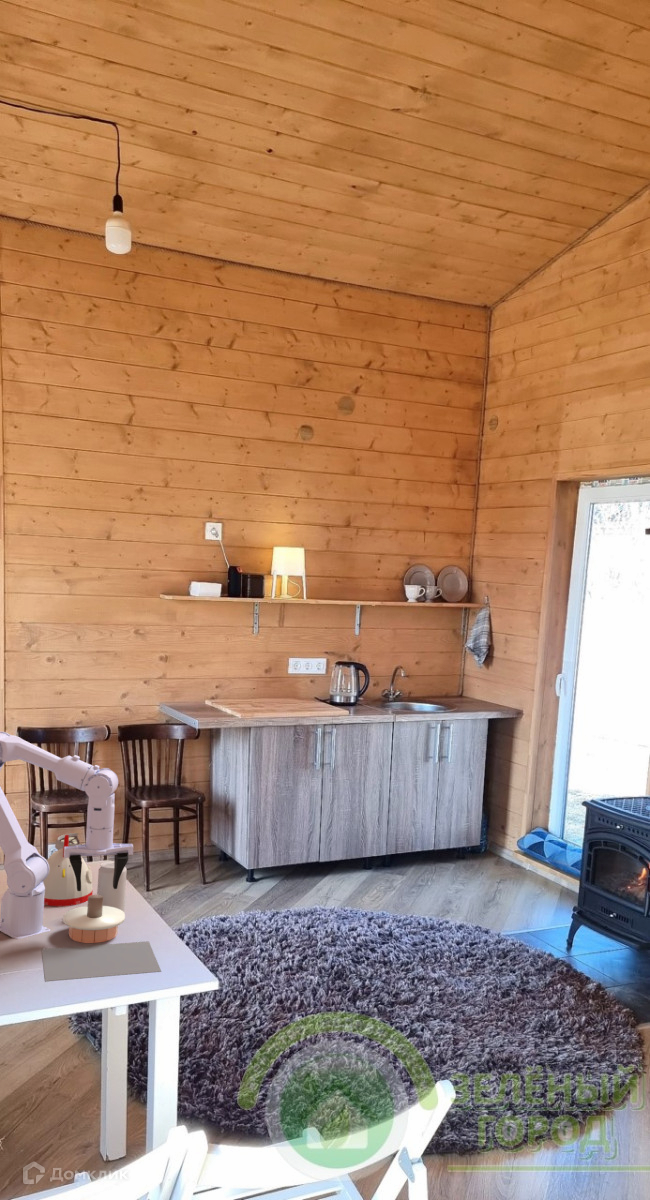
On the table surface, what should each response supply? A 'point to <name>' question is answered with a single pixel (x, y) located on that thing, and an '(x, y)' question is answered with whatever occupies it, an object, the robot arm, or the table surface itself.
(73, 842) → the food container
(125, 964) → the mat
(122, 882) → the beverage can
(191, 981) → the table surface
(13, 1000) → the table surface
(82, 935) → the bowl
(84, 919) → the lid
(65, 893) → the kitchen timer
